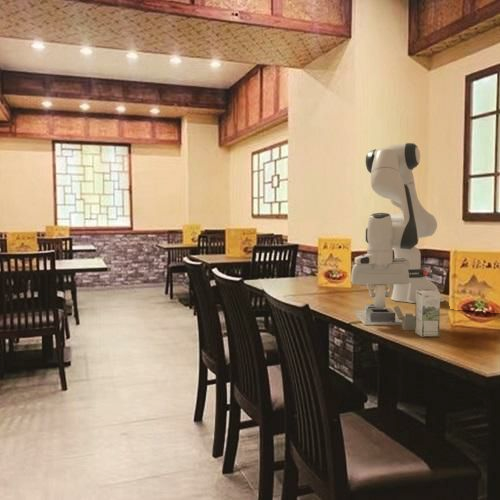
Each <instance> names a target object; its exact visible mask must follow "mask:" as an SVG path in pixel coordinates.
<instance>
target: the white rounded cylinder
mask: <svg viewBox="0 0 500 500" xmlns="http://www.w3.org/2000/svg"><path fill="white" fill-rule="evenodd" d="M373 288H374V289H373V292H375V297H373V304H374V307H376V308H387V307H386V305H387V303H386V301H387V300H386V298H387V297H386V292H387V291H386V290H387V289H386V288H387V284H381V285H374V286H373Z"/></svg>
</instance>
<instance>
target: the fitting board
mask: <svg viewBox="0 0 500 500" xmlns="http://www.w3.org/2000/svg"><path fill="white" fill-rule="evenodd" d="M364 306H365V307H364V309H359V310H358V309H357V310H354V314H355V315H356V316H357V318H359V320H360V322H362V323H363V325H364V326H402V320H401V319H399V318H398V316H396V312H395V310H392V309H391V308H387V307H385V308H376V307H374V303H365V304H364Z"/></svg>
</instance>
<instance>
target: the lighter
mask: <svg viewBox="0 0 500 500" xmlns="http://www.w3.org/2000/svg"><path fill="white" fill-rule="evenodd" d="M393 311H394V312H395V315H397V316H396V317H397V318H398V319H399V320H401V319H402V320H401V321H402V325H401V326H402V327H401V329H402V330H403V331H415V315H414V314H413V313H405V316H404V314H403V312H402V310H401V307H399V305H395V306H394V307H393Z"/></svg>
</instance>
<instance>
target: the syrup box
mask: <svg viewBox="0 0 500 500" xmlns="http://www.w3.org/2000/svg"><path fill="white" fill-rule="evenodd" d="M440 296H441V292H440V291H439V290H438V291H437V290H435V289H420V290H416V303H415V312H414V314H415V315H414V316H415V330H414V332H415V334H416V335H418V336H419V337H421V338H436V337H437V338H438V337H440V323H441V322H440V321H441V319H440V316H441V311H440V310H441V302H440Z"/></svg>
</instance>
